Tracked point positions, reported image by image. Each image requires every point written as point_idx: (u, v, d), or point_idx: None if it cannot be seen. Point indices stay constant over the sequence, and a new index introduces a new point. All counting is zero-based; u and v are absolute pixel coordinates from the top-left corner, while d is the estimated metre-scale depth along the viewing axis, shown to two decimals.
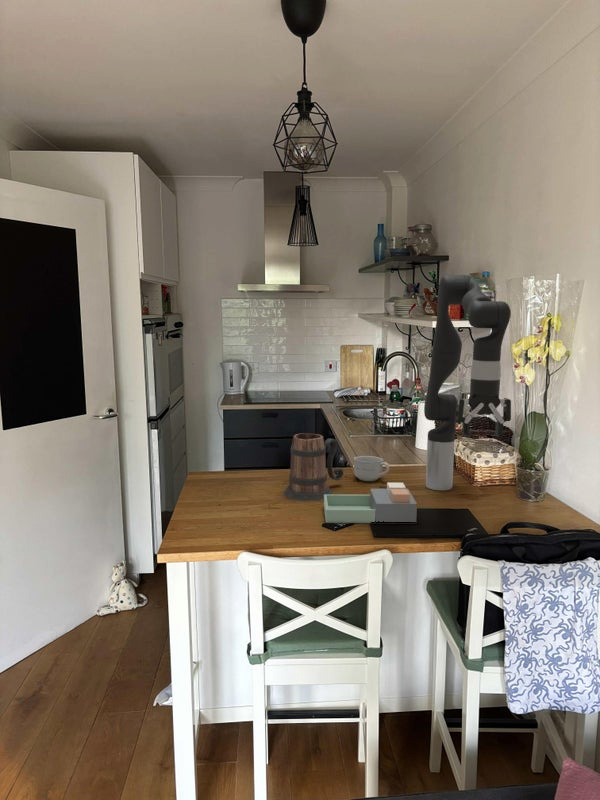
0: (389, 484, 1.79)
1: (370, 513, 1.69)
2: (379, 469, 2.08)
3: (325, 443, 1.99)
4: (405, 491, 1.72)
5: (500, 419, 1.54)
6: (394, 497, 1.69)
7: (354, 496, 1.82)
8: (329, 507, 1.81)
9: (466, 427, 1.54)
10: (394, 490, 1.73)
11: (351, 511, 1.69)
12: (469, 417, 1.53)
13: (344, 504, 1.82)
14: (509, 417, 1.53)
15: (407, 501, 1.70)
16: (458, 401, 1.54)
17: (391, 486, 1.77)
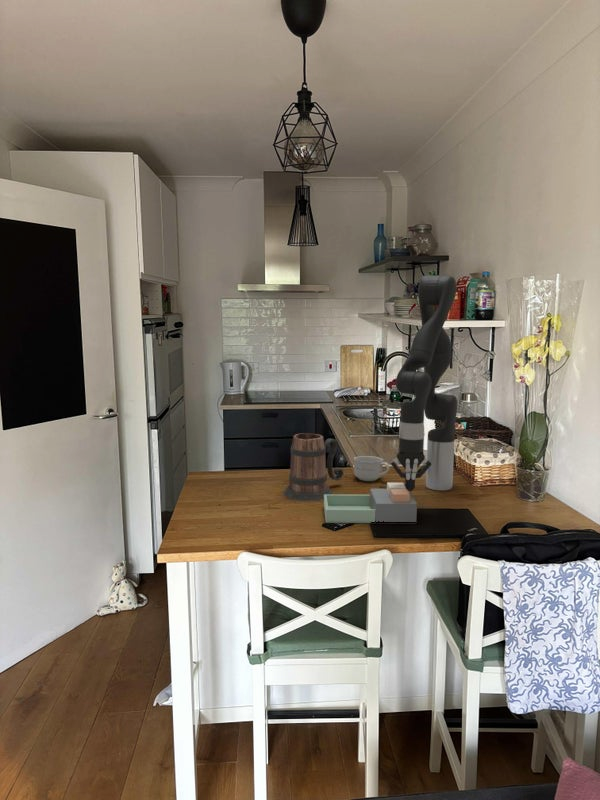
0: (389, 484, 1.79)
1: (370, 513, 1.69)
2: (379, 469, 2.08)
3: (325, 443, 1.99)
4: (405, 491, 1.72)
5: (412, 476, 1.76)
6: (394, 497, 1.69)
7: (354, 496, 1.82)
8: (329, 507, 1.81)
9: (408, 483, 1.77)
10: (394, 490, 1.73)
11: (351, 511, 1.69)
12: (407, 474, 1.76)
13: (344, 504, 1.82)
14: (420, 475, 1.76)
15: (407, 501, 1.70)
16: None
17: (391, 486, 1.77)
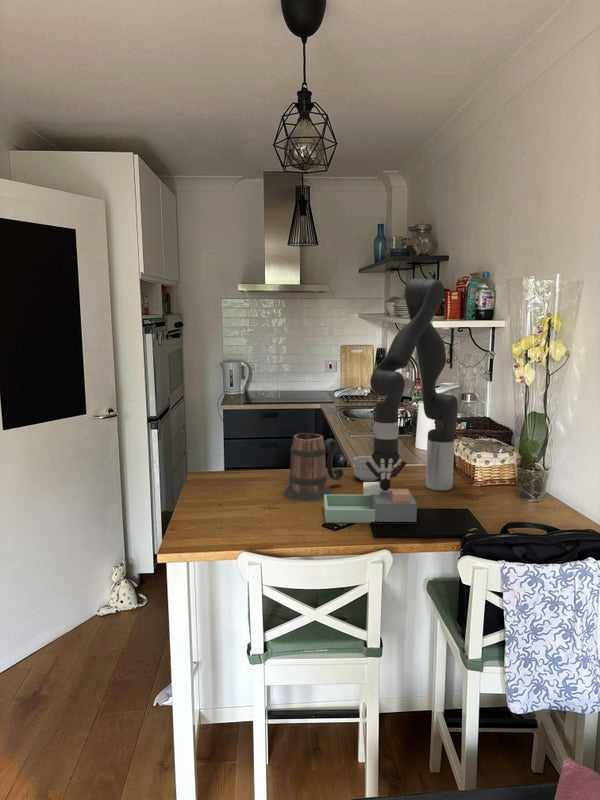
0: (364, 484, 1.79)
1: (370, 513, 1.69)
2: None
3: (325, 443, 1.99)
4: (405, 491, 1.72)
5: (387, 475, 1.76)
6: (394, 497, 1.69)
7: (354, 496, 1.82)
8: (329, 507, 1.81)
9: (383, 482, 1.77)
10: (394, 490, 1.73)
11: (351, 511, 1.69)
12: (382, 473, 1.76)
13: (344, 504, 1.82)
14: (395, 474, 1.76)
15: (407, 501, 1.70)
16: None
17: (365, 486, 1.77)
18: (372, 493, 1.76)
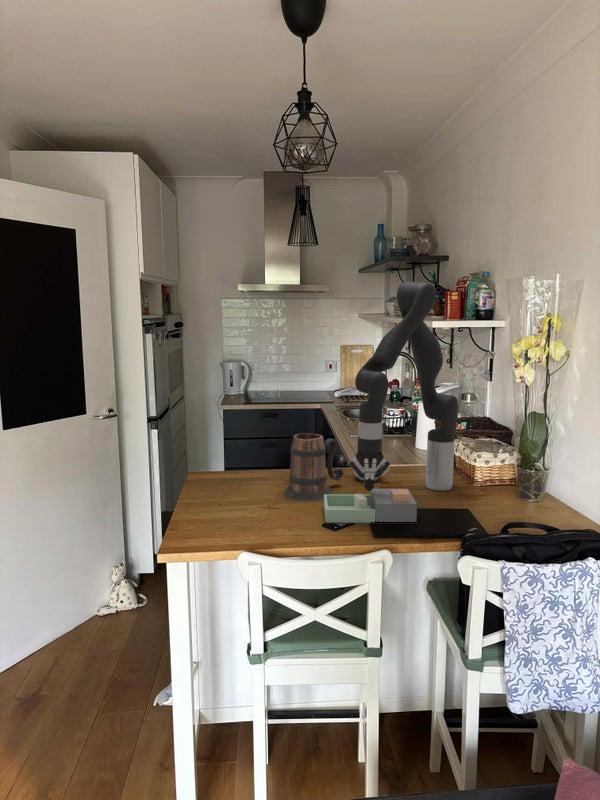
0: (354, 500, 1.78)
1: (370, 513, 1.69)
2: None
3: (325, 443, 1.99)
4: (405, 491, 1.72)
5: (371, 476, 1.76)
6: (394, 497, 1.69)
7: None
8: (329, 507, 1.81)
9: (367, 482, 1.77)
10: (394, 490, 1.73)
11: (351, 511, 1.69)
12: (366, 473, 1.76)
13: (344, 504, 1.82)
14: (379, 475, 1.76)
15: (407, 501, 1.70)
16: None
17: (354, 507, 1.78)
18: None
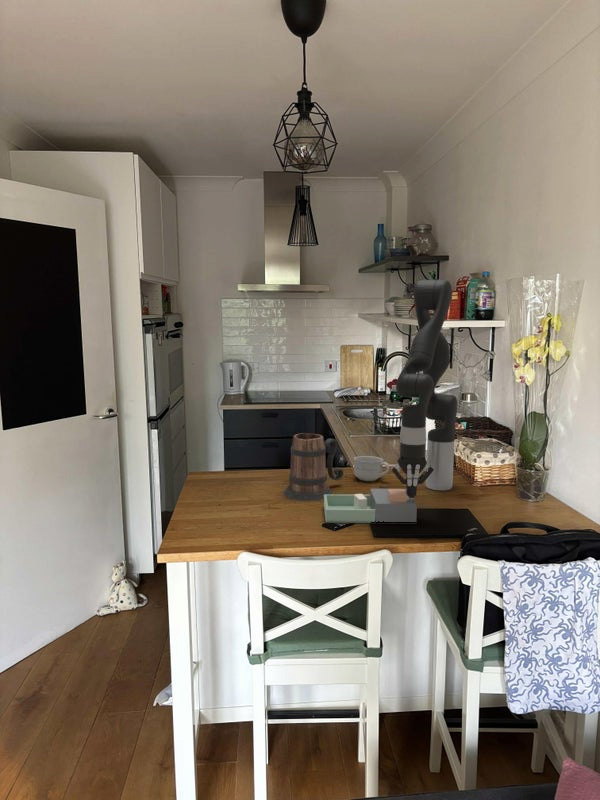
0: (354, 500, 1.78)
1: (370, 513, 1.69)
2: (379, 469, 2.08)
3: (325, 443, 1.99)
4: (402, 491, 1.72)
5: (413, 482, 1.70)
6: (391, 497, 1.69)
7: None
8: (329, 507, 1.81)
9: (409, 489, 1.71)
10: (391, 490, 1.73)
11: (351, 511, 1.69)
12: (409, 480, 1.70)
13: (344, 504, 1.82)
14: (422, 481, 1.70)
15: (404, 501, 1.70)
16: (392, 470, 1.71)
17: (354, 507, 1.78)
18: None
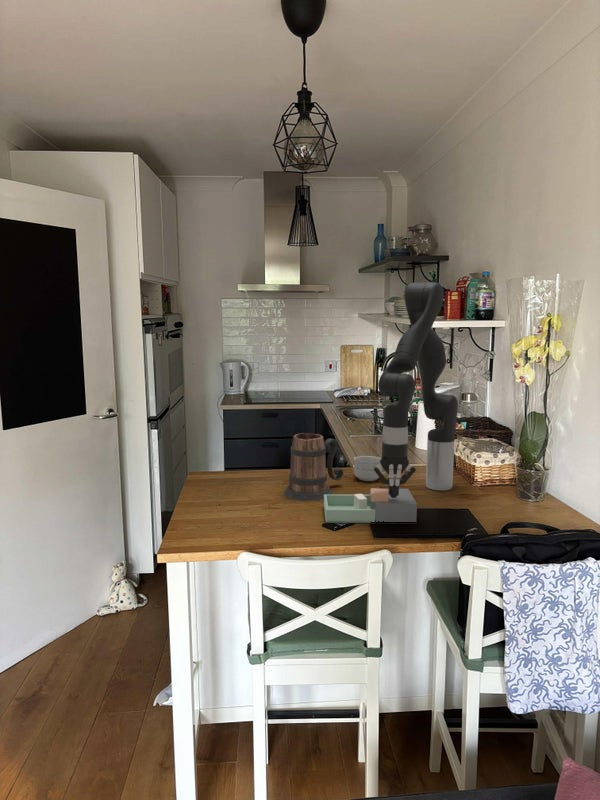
0: (354, 500, 1.78)
1: (370, 513, 1.69)
2: None
3: (325, 443, 1.99)
4: (385, 491, 1.72)
5: (396, 482, 1.70)
6: (372, 496, 1.70)
7: None
8: (329, 507, 1.81)
9: (391, 489, 1.70)
10: (374, 489, 1.74)
11: (351, 511, 1.69)
12: (391, 480, 1.70)
13: (344, 504, 1.82)
14: (404, 481, 1.70)
15: (385, 501, 1.70)
16: None
17: (354, 507, 1.78)
18: None
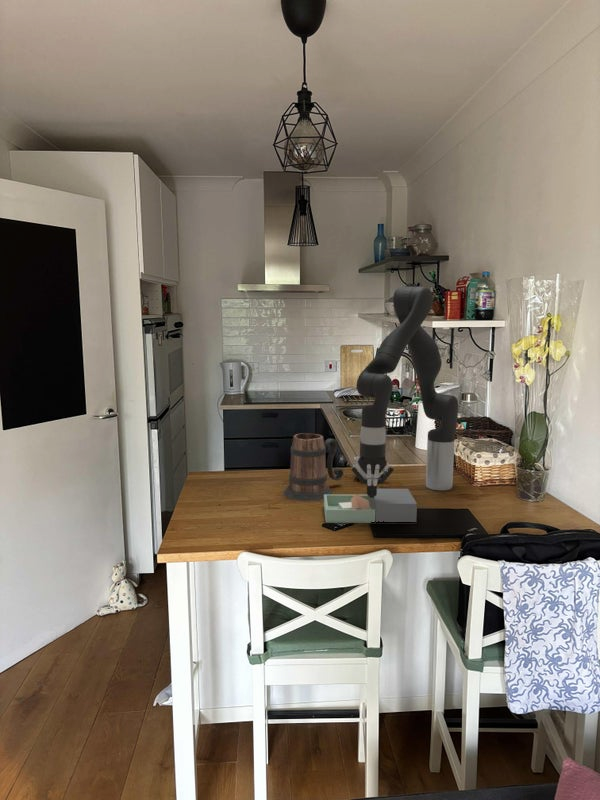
0: None
1: (370, 513, 1.69)
2: None
3: (325, 443, 1.99)
4: (367, 505, 1.73)
5: (373, 482, 1.70)
6: (357, 508, 1.70)
7: None
8: (329, 507, 1.81)
9: (369, 489, 1.71)
10: (358, 497, 1.73)
11: (351, 511, 1.69)
12: (369, 480, 1.70)
13: None
14: (382, 481, 1.70)
15: None
16: None
17: None
18: None
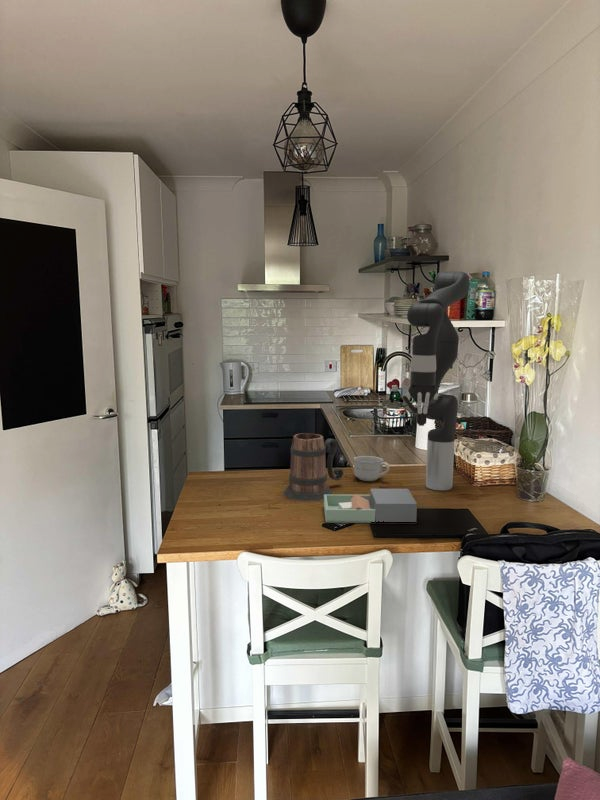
0: None
1: (370, 513, 1.69)
2: (379, 469, 2.08)
3: (325, 443, 1.99)
4: (367, 505, 1.73)
5: (423, 410, 1.76)
6: (357, 508, 1.70)
7: None
8: (329, 507, 1.81)
9: (419, 417, 1.76)
10: (358, 497, 1.73)
11: (351, 511, 1.69)
12: (419, 408, 1.76)
13: None
14: (432, 409, 1.76)
15: None
16: (403, 399, 1.76)
17: None
18: None
